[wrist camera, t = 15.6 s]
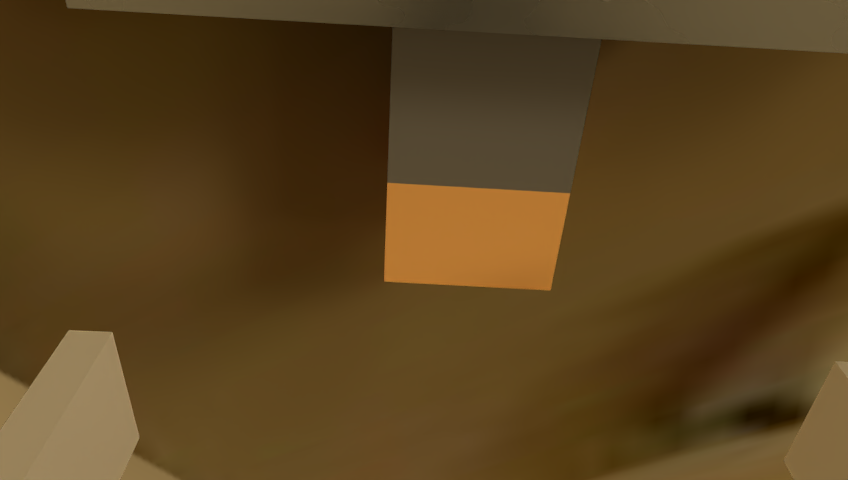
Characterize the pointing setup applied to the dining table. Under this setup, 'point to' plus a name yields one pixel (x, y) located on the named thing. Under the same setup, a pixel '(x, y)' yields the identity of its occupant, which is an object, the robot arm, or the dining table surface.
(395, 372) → the dining table surface
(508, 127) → the plug
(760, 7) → the block
